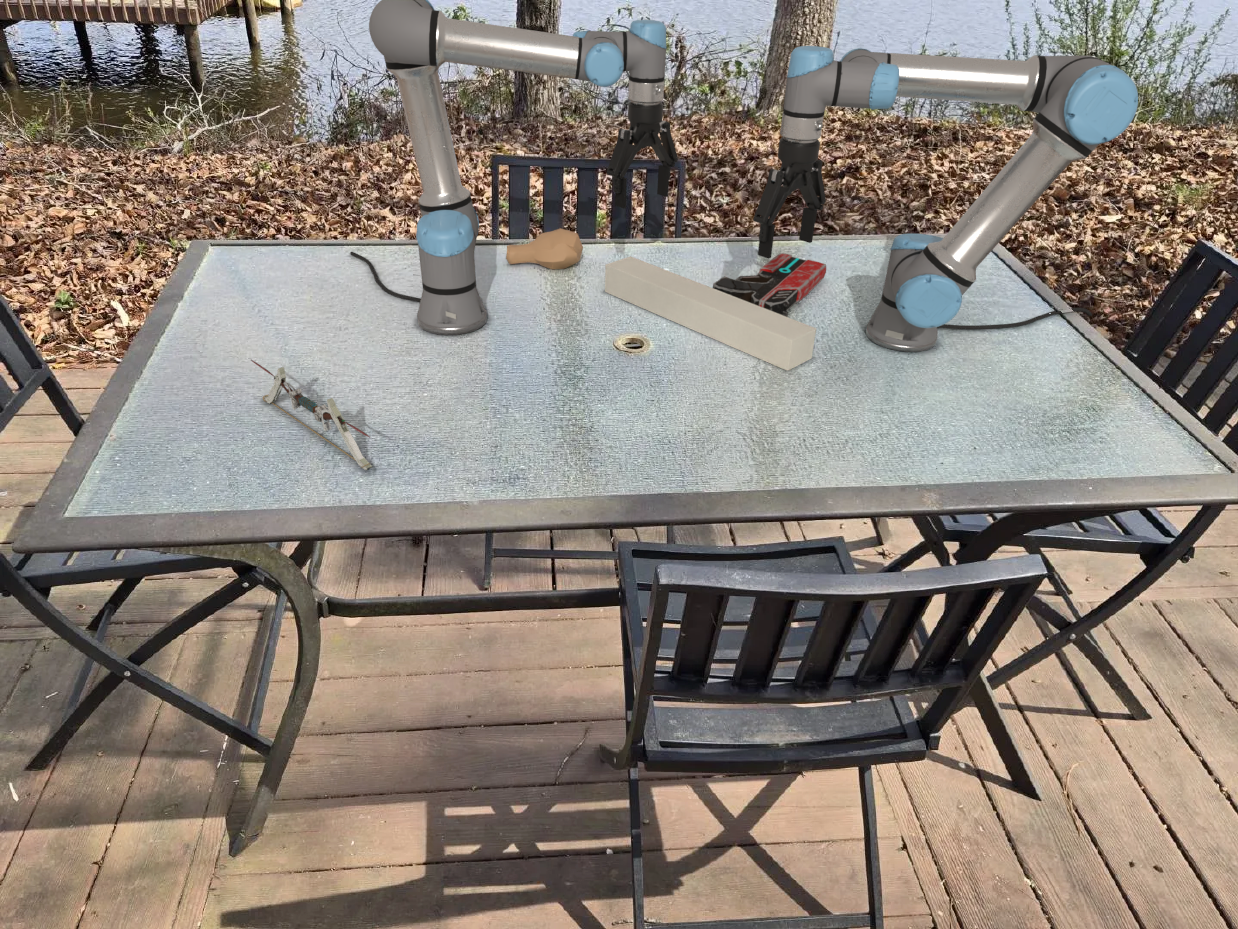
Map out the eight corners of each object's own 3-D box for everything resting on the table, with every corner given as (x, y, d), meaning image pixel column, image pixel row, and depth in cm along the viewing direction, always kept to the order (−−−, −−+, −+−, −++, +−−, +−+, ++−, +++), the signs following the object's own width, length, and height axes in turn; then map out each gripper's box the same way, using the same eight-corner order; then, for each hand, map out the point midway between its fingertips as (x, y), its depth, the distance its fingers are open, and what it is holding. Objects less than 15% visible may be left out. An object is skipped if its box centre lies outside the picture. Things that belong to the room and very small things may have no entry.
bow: (382, 473, 146) (374, 421, 141) (372, 477, 145) (364, 425, 140) (264, 393, 168) (253, 345, 162) (255, 396, 167) (243, 348, 161)
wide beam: (604, 291, 213) (605, 264, 209) (629, 283, 218) (630, 256, 214) (787, 371, 181) (792, 340, 177) (811, 358, 186) (816, 328, 182)
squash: (584, 273, 223) (579, 241, 217) (507, 280, 225) (500, 249, 219) (585, 251, 231) (581, 220, 225) (511, 258, 233) (504, 227, 227)
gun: (708, 284, 207) (784, 305, 199) (760, 245, 229) (831, 262, 221) (706, 302, 209) (781, 323, 201) (758, 261, 231) (828, 278, 223)
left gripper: (616, 112, 177) (613, 216, 189) (697, 97, 192) (690, 194, 204) (590, 106, 182) (590, 207, 194) (672, 91, 197) (667, 186, 208)
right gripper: (775, 153, 154) (761, 268, 166) (854, 132, 168) (836, 239, 180) (742, 144, 158) (730, 257, 170) (822, 124, 173) (806, 230, 185)
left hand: (641, 200), depth 199 cm, fingers open, 13 cm apart
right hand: (785, 248), depth 175 cm, fingers open, 13 cm apart
